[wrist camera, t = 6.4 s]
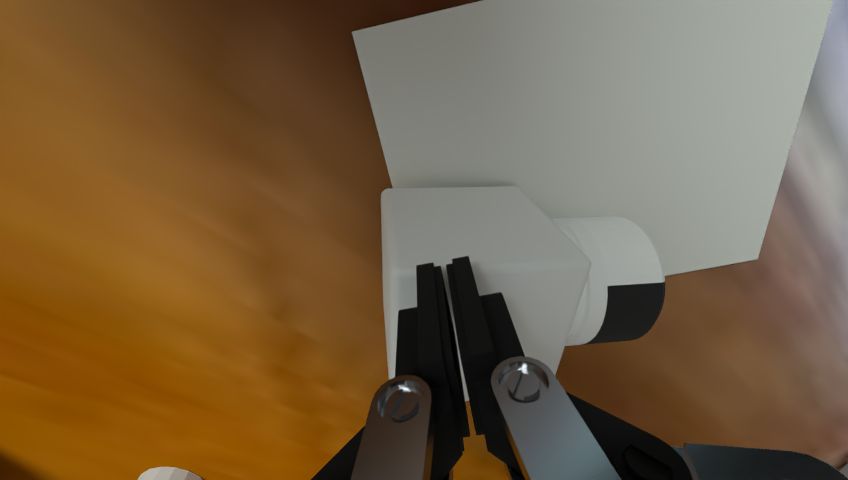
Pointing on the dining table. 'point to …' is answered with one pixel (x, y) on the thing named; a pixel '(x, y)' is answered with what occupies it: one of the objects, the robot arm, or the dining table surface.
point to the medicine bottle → (523, 266)
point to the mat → (604, 109)
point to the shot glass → (168, 474)
